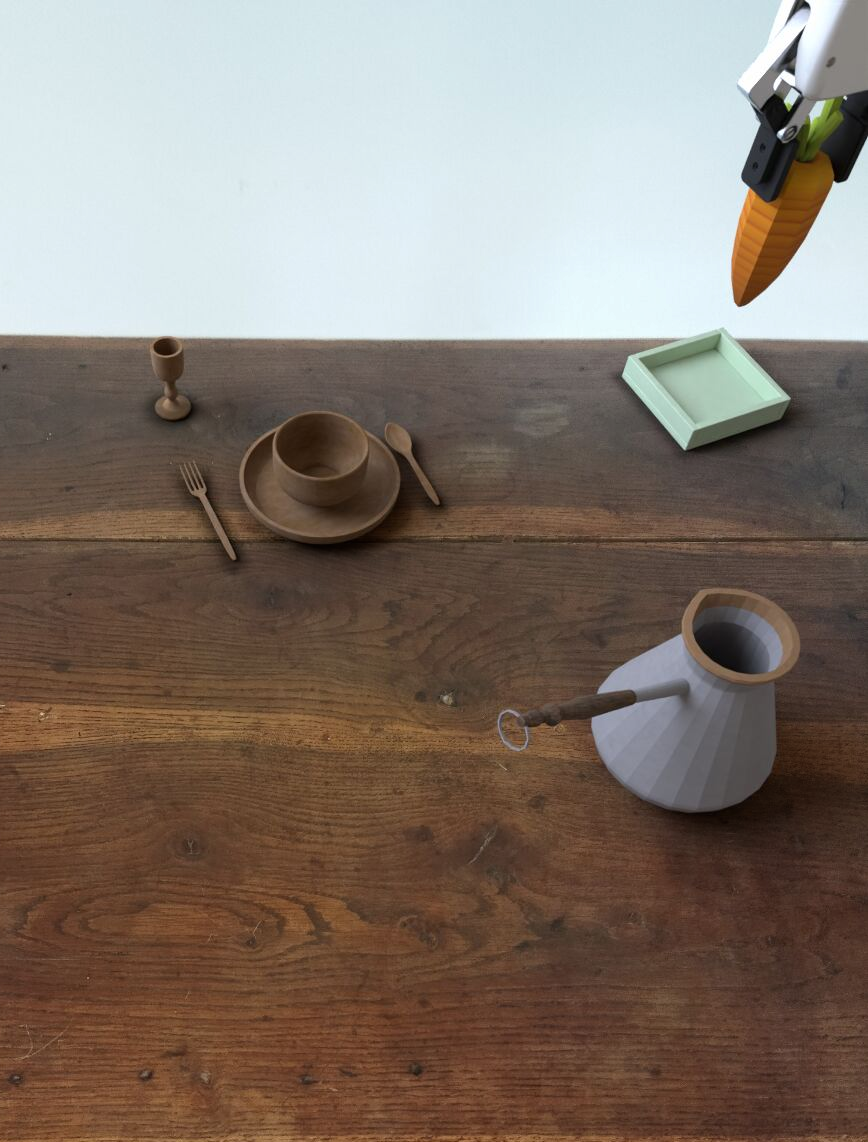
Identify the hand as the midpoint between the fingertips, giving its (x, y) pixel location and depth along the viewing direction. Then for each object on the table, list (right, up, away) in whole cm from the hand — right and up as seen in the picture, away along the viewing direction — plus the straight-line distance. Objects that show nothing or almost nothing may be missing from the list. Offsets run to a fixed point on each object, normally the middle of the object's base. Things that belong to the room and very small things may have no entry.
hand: (793, 178), depth 71 cm
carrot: (0, -5, +9) cm, 10 cm away
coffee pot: (-13, -40, -2) cm, 42 cm away
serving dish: (0, -9, +16) cm, 18 cm away
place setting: (-33, -15, +12) cm, 38 cm away
